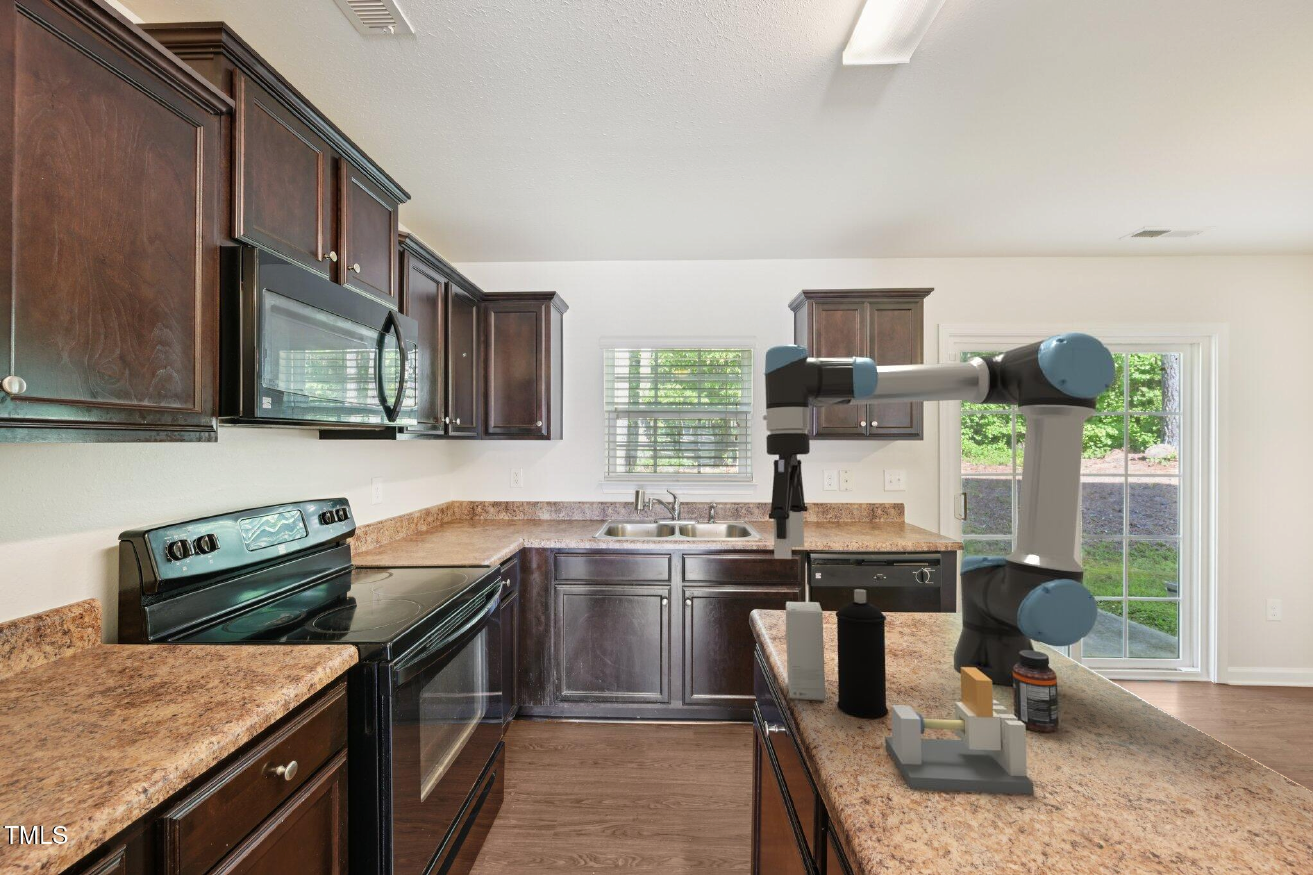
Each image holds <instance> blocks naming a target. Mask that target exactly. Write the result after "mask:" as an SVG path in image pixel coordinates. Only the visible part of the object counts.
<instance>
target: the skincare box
mask: <svg viewBox="0 0 1313 875" xmlns="http://www.w3.org/2000/svg"><path fill="white" fill-rule="evenodd" d="M823 619H824V618H823V609H822V607H821V605H820V602H816V601H815V602H814V601H786V602H785V640H786V641H785V642H786V643H785V644H786V646H785V647H786V665H787V670H786V671H787V683H788V684H787V686H788V694H789V695H788V696H789V698H790V699H794V700H804V701H805V700H806V701H807V700H808V701H809V700H810V701H825V700H826V680H825V653H824V652H825V651H824V649H825V648H824V647H825V646H824V623H823V622H824V620H823Z"/></svg>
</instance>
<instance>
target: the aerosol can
mask: <svg viewBox="0 0 1313 875" xmlns="http://www.w3.org/2000/svg"><path fill="white" fill-rule="evenodd" d="M853 599H854V600H853V601H851V602H849V603H846V604H844V605H842V607H840V608H839V609H838V610H837V611H836V612H835V617H836V625H837V626H836V628H837V629H836V630H837V631H836V632H837V633H836V634H837V692H838V693H837V694H838V697H837V698H838V701H837V703H836V706H837V708H838V710H839V711H840V712H842V713H844V714H846V715H848V716H851V717H854V718H859V719H867V720H872V719H873V720H875V719H881V718H884V717H885V716H886V715H887V714H889V713H888V712H889V710H888V707H887V681H886V680H887V679H886V676H887V675H886V671H887V670H886V634H885V633H886V630H885V628H886V627H885V626H886V625H885V623H886V622H885V621H886V620H887V617H886V615H885V614H884V613H883V612H882V610H880V609H879V608H878V607H876V606H875V605H873V604H869V603H868V602H867V590H865V589H860V588H858V589H857V588H856V589H854V590H853Z"/></svg>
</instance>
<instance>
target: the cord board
mask: <svg viewBox="0 0 1313 875" xmlns="http://www.w3.org/2000/svg"><path fill="white" fill-rule="evenodd" d="M890 709H891V710H890V711H891V736H885V737H884V740H885V748H886V751H887V752H888V754H889V755H890V757H891V759H892V761H893V763H895V766H896V768H898V770H899V772H900V774H901V775H902V777H903V779H904V780H905V782H906V784H907V785H908V787H909V788H910V789H911V790H921V791H922V790H925V791H942V792H943V791H945V792H962V793H963V792H966V793H983V794H984V793H989V794H1005V795H1006V794H1007V795H1011V794H1012V795H1026V796H1027V795H1029V796H1031V795H1032V796H1034V781H1032V780H1031V779H1030V778H1029V777H1028V768H1027V767H1028V766H1027V763H1028V761H1027V738H1026V737H1027V735H1026V734H1027V731H1026V730H1027V728H1026V725H1025V724H1024V723H1022V722H1021V721H1018V719H1017V717H1015V715H1014V713H1013V714H1012V713H1009V714H1008V709H1007V708H1006V707H1005V706H1003V705H1001V702H999V701H998V700H996V699H993V711H994V712H995V713H996V714H997V715H999V716H1000V736H1001V751H1000V750H976V749H969V748H968V747H967V746H966V745H965V744H964V743H963V742H962V740H961V739H948V738H947V739H944V738H924V737H923V738H922V735H924V733H925V729H929V730H930V729H932V730H933V729H935V730H955V731H956V730H965V720H955V719H940V718H939V719H938V718H924V717H923V715H922V714H921V713H920V712H916V711H914V709H913V708H912V707H911V705H904V704H903V705H902V704H891V706H890Z"/></svg>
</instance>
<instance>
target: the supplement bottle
mask: <svg viewBox="0 0 1313 875" xmlns="http://www.w3.org/2000/svg"><path fill="white" fill-rule="evenodd" d="M1019 660H1020V661H1019V662H1018V663H1017V664H1015V665H1014V667H1013V685H1012V686H1013V707H1014V708H1013V712H1014V713H1013V715H1014V716H1015V717H1017V719H1018V721H1021V722H1022V723H1024V724H1025V725H1026V730H1029V731H1034V732H1039V733H1053V732H1055V731H1057V730H1058V729H1059V698H1058V677H1057V673H1056V671H1055V670H1054V669H1052V668H1051V667H1050V666H1049V665H1050V659H1049V655H1048V654H1046V653H1045V652H1042V651H1036V650H1035V651H1032V650H1022V651H1020V652H1019Z"/></svg>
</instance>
